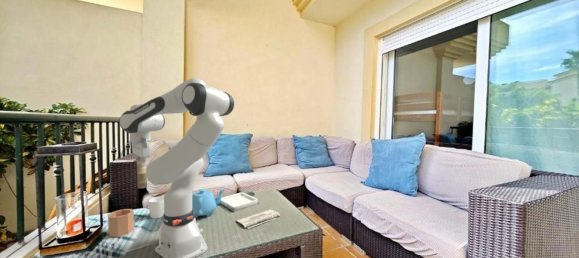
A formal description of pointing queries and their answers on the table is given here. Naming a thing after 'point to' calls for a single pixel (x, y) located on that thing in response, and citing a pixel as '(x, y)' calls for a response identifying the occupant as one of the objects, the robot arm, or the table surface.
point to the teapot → (205, 202)
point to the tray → (238, 201)
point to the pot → (120, 222)
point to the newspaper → (258, 218)
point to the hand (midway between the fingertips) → (141, 164)
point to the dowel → (141, 174)
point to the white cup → (156, 207)
